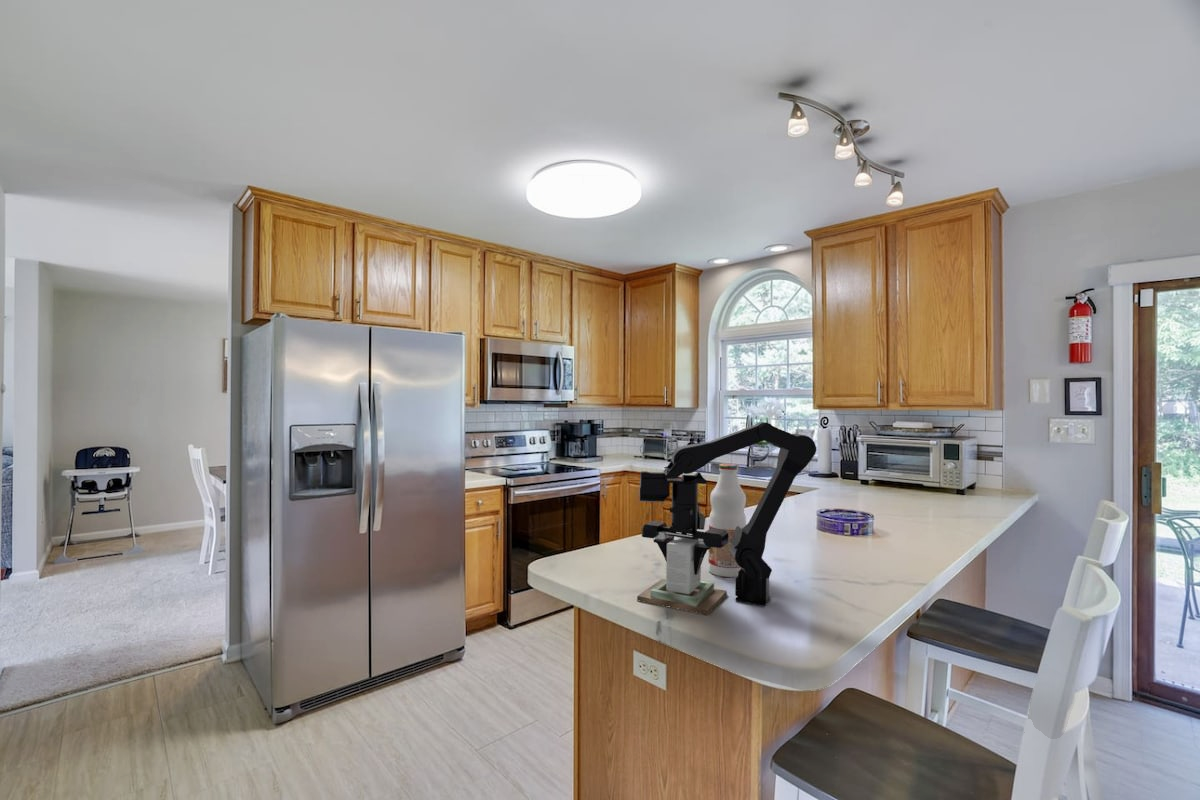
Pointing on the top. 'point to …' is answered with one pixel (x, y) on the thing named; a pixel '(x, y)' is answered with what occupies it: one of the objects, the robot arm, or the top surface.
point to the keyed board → (685, 597)
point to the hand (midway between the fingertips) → (683, 572)
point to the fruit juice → (726, 519)
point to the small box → (681, 566)
